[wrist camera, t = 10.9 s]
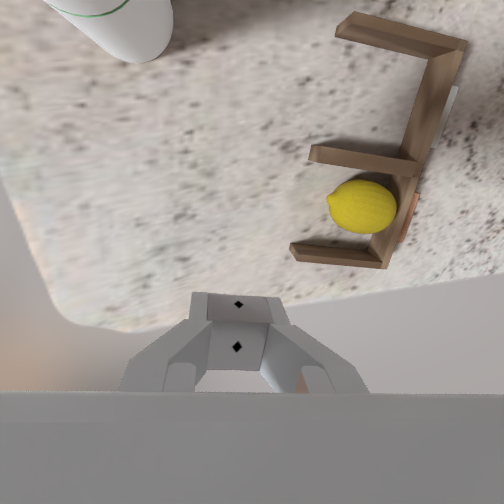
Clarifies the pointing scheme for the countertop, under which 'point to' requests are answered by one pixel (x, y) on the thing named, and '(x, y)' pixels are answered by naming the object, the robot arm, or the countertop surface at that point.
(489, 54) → the countertop surface
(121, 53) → the cylindrical container
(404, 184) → the bay rack
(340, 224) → the lemon
